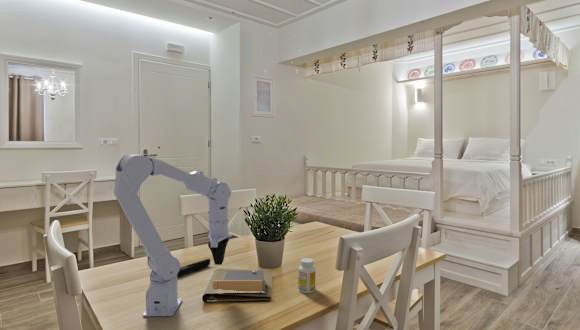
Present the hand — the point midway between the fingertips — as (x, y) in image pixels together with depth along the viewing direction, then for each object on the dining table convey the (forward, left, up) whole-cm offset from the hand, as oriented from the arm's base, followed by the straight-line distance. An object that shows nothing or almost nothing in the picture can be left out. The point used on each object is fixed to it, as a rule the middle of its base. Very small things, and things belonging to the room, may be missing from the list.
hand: (219, 263), depth 107 cm
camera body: (+3, -7, -9) cm, 12 cm away
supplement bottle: (+1, -27, -9) cm, 29 cm away
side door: (-2, -6, -9) cm, 11 cm away
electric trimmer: (+17, +14, -9) cm, 24 cm away
